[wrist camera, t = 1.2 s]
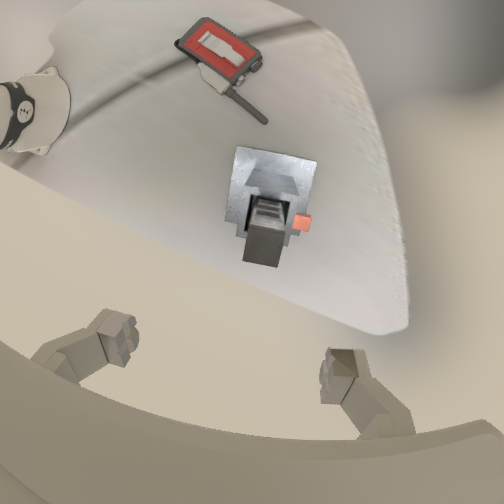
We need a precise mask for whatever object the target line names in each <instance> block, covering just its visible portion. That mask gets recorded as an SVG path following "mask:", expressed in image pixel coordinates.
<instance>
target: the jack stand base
mask: <svg viewBox="0 0 504 504" xmlns="http://www.w3.org/2000/svg"><path fill="white" fill-rule="evenodd" d="M316 165H317V162H316V161H312V160H308V159H303V158H299V157H294V156H290V155H285V154H280V153H275V152H270V151H265V150H260V149H254V148H249V147H243V146H237V147H236V153H235V159H234V165H233V171H232V177H231V183H230V190H229V196H228V202H227V209H226V215H225V221H227V222H232V223H237V224H238V225H237V231H236V236H237V237H242V238H247V233H248V228H249V224H250V220H251V217H252V213H253V209H254V206H255V202H256V198H257V195H260V196H265V197H270V198H275V199H280V200H283V211H284V224H285V239H284V243H283V246H288V242H289V238H290V234H292V235H297V236H299V234H300V230H303V231H308V230H309V226H310V223H311V219H312V218H311V215H308V214H305V211H306V207H307V203H308V199H309V194H310V190H311V186H312V182H313V178H314V174H315V169H316Z"/></svg>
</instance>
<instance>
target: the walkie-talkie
mask: <svg viewBox="0 0 504 504" xmlns="http://www.w3.org/2000/svg"><path fill="white" fill-rule="evenodd" d="M178 43H179V46H180V47H181V48H180V47H179V46H178ZM174 45H175V47H176V48H178V49H179V50H181V51H182V52H184V53H185V54H187V55H188V56H190V57H191V58H192V59H194V60H195V62H196V64H197V66H198V67H199V68H200V72H201V77H202V79H203V80H205V81H206V82H207V83H208V84H210V85H211V86H212V87H214V88H215V89H216V90H217V92H219V93H220V94H221V95H223V94H224V93H225V94H226V95H227V96H228V97H231V98H232V99H234V100H235V101H236V102H237V103H239V104H240V105H241V106H242V107H243V108H245V109H246V110H247V111H248V112H249V113H251V114H252V115H253V116H254V117H255V118H257V119H258V120H259V121H260V122H261V123H262V124H267V123H268V119H267V118H266V117H265V116H264V115H262V114H261V113H260V112H259V111H258V110H256V109H255V108H254V107H253V106H252V105H251V104H249V103H248V102H247V101H246V100H244V99H243V98H242V97H241V96H240V95H238V94H237V93H236V91H235V90H234V89H232V88H231V86H232V85H238V86H240V85H241V84H242V81H243V80H244V79H245V77H244V76H245V75H246V74H247V73H248V72H249V71H250V70H251V71H252V72H255V71H256V70H258V69H259V68H260V67H261V65H262V62H261V61H260V60H261V59H262V56H261V52H260V51H259V50H258V49H256V48H255V47H253V46H251V45H250V44H249V43H248V42H247V41H245V40H243V39H242V38H240V37H239V36H236V34H233V32H231V31H230V30H228V29H226V28H225V27H223V26H222V25H220V24H219V23H217V22H215V21H214V20H212V19H210V18H209V17H204V18H201V19H199V20H198V21H197V22H196V23H195V24H194V25H193V26H192V27H191V28H190V29H189V30H188V31H187V32H186V33H185V35H184V36H183V37H182V38H181V39H178V40H176V41H175V43H174ZM196 58H197V59H198V60H200V61H201V63H199V62H198V60H197V59H196Z"/></svg>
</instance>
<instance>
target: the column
mask: <svg viewBox="0 0 504 504" xmlns="http://www.w3.org/2000/svg"><path fill="white" fill-rule="evenodd" d="M284 239H285V224H284V211H283V200H280V199H275V198H270V197H265V196H260V195H257V198H256V202H255V206H254V209H253V213H252V217H251V220H250V224H249V228H248V233H247V238H246V244H245V249H244V255H243V260H242V261H246V262H251V263H256V264H261V265H266V266H271V267H276V268H277V267H278V263H279V259H280V255H281V251H282V247H283V243H284Z"/></svg>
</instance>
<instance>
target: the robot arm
mask: <svg viewBox="0 0 504 504" xmlns="http://www.w3.org/2000/svg"><path fill="white" fill-rule="evenodd" d="M69 110H70V94H69V90H68V87H67V85H66V83H65V82H64V80H62V79H61V78H60V77H59V75H58V72H57V69H56V67H49V68H47V69H45V70H43V71H42V72H40V73H38V74H26V75H24V77H22V78H20V79H19V80H18V81H17V82H6V83H0V150H3V149H6V148H7V152H14V153H18V152H24V151H28V152H31V153H34V154H37V155H40V156H44V155H46V154H47V153H48V151H49V149H50V146H51V144H52V143H53V142H54V141H55V140H56V139H57V138H58V136H59V135H60V134H61V132H62V131H63V129H64V127H65V124H66V122H67V119H68V115H69ZM135 325H136V319H135V317H134V316H132V315H128V314H124V313H121V312H118V311H113V310H110V309H107V308H106V309H103V310H102V311H101V312H100V313H99V314H98V316H97V317H96V318H95V319H94V320H93V321H92V322H91V324H90V325H89V326H88V327H87V328H86V329H85V328H82V329H80V330H77V331H75V332H72V333H70V334H67V335H65V336H62V337H59V338H57V339H55V340H52V341H50V342H47V343H44V344H43V345H42V346H41V347H40V348H39V350H38V351H37V352H36V353H35V354H34V355H33V357H32V358H31V359H28V358H26V357H25V356H23V355H21V354H20V353H18V352H17V351H15V350H14V349H12V348H10V347H9V346H8V345H6V344H5V343H3V342H2V341H0V504H504V435H503V434H502V433H501V432H500V431H499V430H498V429H497V428H495V427H494V426H493V425H492V424H491V423H489V422H487V421H486V420H483V419H481V420H476V421H472V422H468V423H465V424H461V425H457V426H453V427H449V428H445V429H440V430H435V431H430V432H425V433H418V434H416V431H415V427H414V423H413V420H412V416H411V413H410V410H409V409H408V408H407V407H406V406H405V405H403V404H402V403H401V402H400V401H399V400H398V399H397V398H396V397H395V396H394V395H393V394H392V393H391V392H390V391H388V390H387V389H386V388H385V387H384V386H383V385H382V384H381V383H380V382H379V381H378V380H377V379H376V378H372V377H371V373H370V369H369V365H368V361H367V358H366V354H365V351H364V349H349V348H331V347H329V348H328V349H327V351H326V354H325V355H326V359H325V360H324V361H323V362H322V365H321V368H320V376H319V377H320V378H319V380H320V383H321V385H322V388H321V391H320V396H321V403H322V404H339V405H341V407H342V408H343V410H344V411H345V413H346V414H347V415H348V417H349V418H350V419H351V421H352V422H353V424H354V425H355V426H356V428H357V429H358V430H359V432H360V433H361V435H360V436H359V437H358V438H357V439H356V440H337V441H336V440H335V441H334V440H333V441H332V440H328V441H327V440H295V439H281V438H270V437H261V436H253V435H246V434H239V433H233V432H226V431H221V430H216V429H211V428H206V427H201V426H197V425H192V424H188V423H184V422H180V421H176V420H173V419H169V418H165V417H162V416H158V415H155V414H152V413H149V412H146V411H142V410H139V409H136V408H134V407H130V406H128V405H125V404H122V403H119V402H117V401H114V400H112V399H109V398H107V397H104V396H102V395H99V394H97V393H95V392H92V391H90V390H87V389H85V388H83V387H81V385H80V384H79V382H80V381H81V380H83V379H85V378H86V377H88V376H89V375H91V374H93V373H94V372H96V371H98V370H99V369H101V368H102V367H104V366H106V365H107V364H108V363H110V364H114V365H117V366H120V367H125V366H126V364H127V362H128V361H129V359H130V358H131V357H130V353H131V352H133V351H135V349H136V348H137V346H138V342H139V332H138V330H137V329H136V328H135Z"/></svg>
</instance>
